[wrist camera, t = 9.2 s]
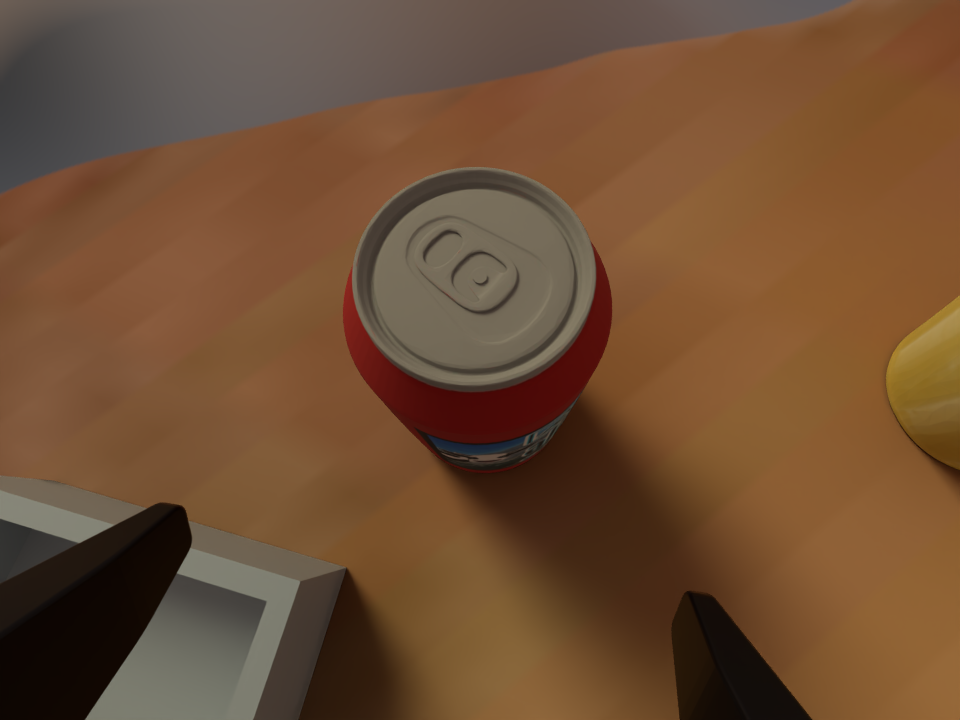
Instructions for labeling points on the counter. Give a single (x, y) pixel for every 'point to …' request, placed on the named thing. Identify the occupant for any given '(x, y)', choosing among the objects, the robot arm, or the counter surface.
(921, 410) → the plant pot
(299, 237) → the counter surface
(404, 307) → the beverage can
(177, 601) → the tote
